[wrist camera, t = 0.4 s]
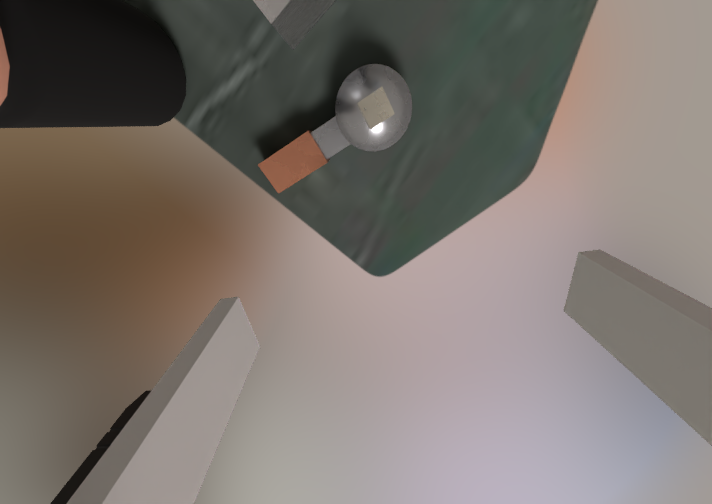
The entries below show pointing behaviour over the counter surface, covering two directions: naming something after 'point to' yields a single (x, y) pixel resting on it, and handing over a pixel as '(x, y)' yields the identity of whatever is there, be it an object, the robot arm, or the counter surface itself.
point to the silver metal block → (293, 16)
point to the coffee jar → (85, 66)
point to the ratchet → (348, 125)
